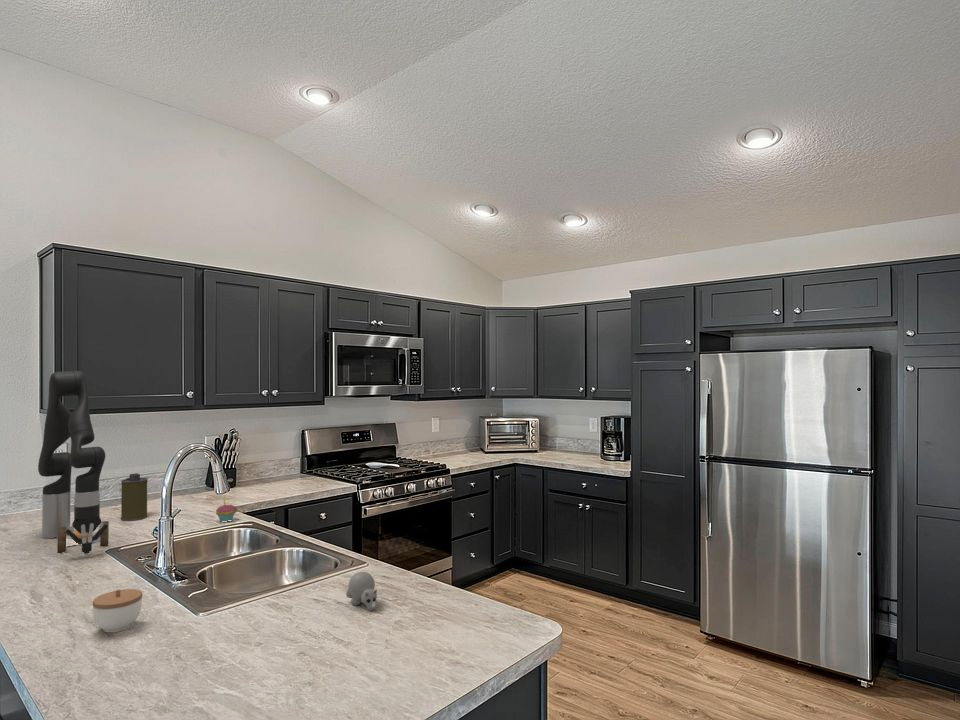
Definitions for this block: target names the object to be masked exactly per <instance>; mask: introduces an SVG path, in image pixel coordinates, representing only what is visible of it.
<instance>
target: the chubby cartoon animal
mask: <svg viewBox="0 0 960 720" xmlns="http://www.w3.org/2000/svg"><path fill="white" fill-rule="evenodd" d="M375 586H376V583H375V578H374V577H373V576H372V574H370V573H369V572H367V571H359V572H356V573H354V574H353V575H352V576H351V577H350V578H349V582H348V587H347V589H346V593H345V595H346V597H347V598H350V599H351V600H350V604H351V605H352V606H354V607H357V606H359V605H360V604H361V602H362V603H363V604H364V605H365V607H366V608H367V610H368V611H371V612H372V611H375V610H376V608H377V607H378V602H377V599H378V598H377V597H378V595H377V594H378V593H377V592H378V589H375Z"/></svg>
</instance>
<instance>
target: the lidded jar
mask: <svg viewBox="0 0 960 720" xmlns="http://www.w3.org/2000/svg"><path fill="white" fill-rule="evenodd" d="M142 597H143V591H142V590H140V589H134V588H132V589H131V588H126V589H116V590H113V591H108V592H106V593H103V594H100V595H98V596H96V597H95V598H94V599H93V600H92V613H93V621H94V622H95V624H96V625H97V627H99V629H102V631H103V632H104V633H107V634H109V633H111V634H113V633H118V632H123V631H124V630H127V629H129V628H131V627H132V624H133V623H135V621H136V620H137V619H138V617H139V616H140V613H141V609H142V601H143V600H142V599H143V598H142Z"/></svg>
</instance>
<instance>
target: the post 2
mask: <svg viewBox="0 0 960 720" xmlns="http://www.w3.org/2000/svg"><path fill="white" fill-rule="evenodd" d="M101 522H103V523H106V524H107V525H108V527H107V528H106V529H105V531H104V532H103V533H102V534H101V535H100V542H99V545H100V546H105V547H108V546H109V529H110V527H109V525H110V521H109V520H101Z"/></svg>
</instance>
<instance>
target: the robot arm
mask: <svg viewBox="0 0 960 720" xmlns="http://www.w3.org/2000/svg"><path fill="white" fill-rule="evenodd" d="M69 396H70V397H71V396H77V403H76V406H75V408H74V409H73V411H72V412H71V411H70V410H69V409H68V408H67V407H66V405H64V403H63V402H62V400H61V398H62V397H69ZM47 400H48V404H47V409H46V410H47V411H46V415H45V420H44V421H45V422H44V428H43V429H44V430H43V440H42V446H41V451H40V454H39V458H38V465H37V470H38V471H37V472H38V474H39V475H40V476H41V477H44V478H45V477H47V478H49V477H58V476H60V477H59V478H58V479H57V480H56V481H53V482H51V483H48V484H46V485H45V486H43V487H42V499H41V501H42V508H41V509H42V511H41V512H42V513H41V514H42V515H41V516H42V518H41V521H42V522H41V523H42V524H41V526H42V527H41V538H43V539H55V538H54V537H56V538H58V528H59V527H66V530H65V531H66V536H69V537H70V538H72V539H73V540H74V541H76V542H77V543H82V545H81V553H83V554H84V555H86V554H90V552H92V550H93V549H92V548H93V547H92V545H93V543H92V542H93V541H94V540H97V539H98V538H99V537H100V535H101V534H102V533H103V532H104V531H105V529H106V528H107V527H108V525H107V524H106V523H103V522H102V519H101V516H100V514H101V513H100V511H101V509H100V508H101V496H100V476H101V473H102V469H103V466H104V464H105V460H106V451H105V450H104V448H103V447H101V446H91V447H84V446H86V445H89V444H91V443H92V442H94V440H95V433H94V428H93V425H92V420H91V413H90V402H89V400H90V399H89V390H88V382H87V378H86V375H85V372H83V371H80V370H72V371H71V370H69V371H67V370H66V371H55V372H52V374H51V375H50V377H49V382H48V399H47ZM69 439H70V452H68V451H66V452H65V451H64V452H55V451H56V450H57V449H58V448H59V447H60V446H61V447H62V445H64V444H65V443H66V442H67V441H68V440H69ZM72 468H75V469H84V468H85V469H87V468H90V469H89V470H88V471H87V472H85V473H83V474H80V475H79V474H78V475H77V476H76V477H75V480H74V481H75V487H74V491H75V492H74V493H75V494H74V500H73V501H74V503H73V505H74V506H73V510H74V511H73V512H74V513H73V519H74V520H73V521H72V524H71V503H72V502H71V499H72V497H71V495H72V493H71V487H72V485H71V484H72V478H71V477H72ZM98 527H99V529H98ZM74 529H75V530H74ZM97 529H98V530H97ZM76 530H77V531H78V532H79V533H81V538H78V537H77V536H76V535H75V534H74V532H75V531H76ZM96 530H97V531H96ZM95 531H96V533H95V534H94V532H95ZM86 533H88V537H87V542H86ZM93 535H94V536H93ZM92 536H93V537H92Z"/></svg>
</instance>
